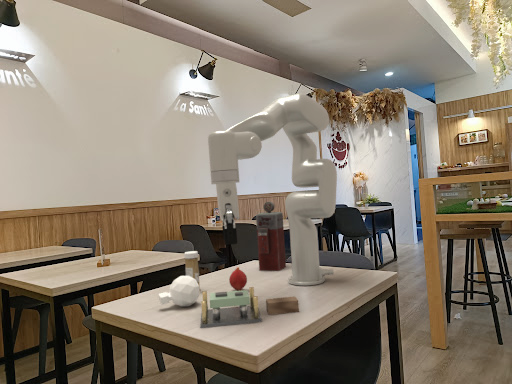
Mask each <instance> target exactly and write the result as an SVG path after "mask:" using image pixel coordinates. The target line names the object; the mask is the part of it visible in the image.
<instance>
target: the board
mask: <svg viewBox="0 0 512 384" xmlns="http://www.w3.org/2000/svg"><path fill="white" fill-rule="evenodd" d="M240 305H247V306H250V293H249V292H248V289H242V290H241V291H237V290H231V291H219V292H210V293H209V309H213V308H218V307H220V308H230V307H239V306H240Z"/></svg>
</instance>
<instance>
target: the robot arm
mask: <svg viewBox="0 0 512 384" xmlns="http://www.w3.org/2000/svg"><path fill="white" fill-rule="evenodd" d="M329 123H330V116H329V113H328V111H327V109H326V108H325V107H324V106H323V105H321V104H320V103H319V102H318V101H316V100H315V99H314V98H312V97H311V96H309V95H307V94H305V93H295V94H292V95H286V96H281V97H279V98H276V99H274V100H273V101H271V102H270V103H268V104H267V105H266V106H265V107H264V108H262V109H261V110H260V111H259V112H257V113H255V114H254V115H252V116H250V117H248V118H246V119H244V120H242V121H241V122H238V123H237V124H235V125H233V126H231V127H229V128H228V129H227V130H218V131H213V132H210V133H209V134H208V135H207V145H208V156H209V170H210V172H209V173H210V182H211V185H215V186H216V188H215V189H216V190H215V191H216V199H217V208H218V213H219V217H220V220H221V221H222V226H221V229H222V239H223V240H224V245H225V246H228V245H237V244H238V234H237V232H238V231H237V228H236V221H238V220H240V218H241V217H240V210H239V209H240V208H239V198H238V196H239V195H238V190H237V189H238V188H237V183H240V172H239V171H240V170H239V160H241V161H242V160H249V159H252V158H255V157H257V156H258V155H259V154H260V153H261V151H262V147H263V146H262V144H263V143H262V142H264V141H266V140H268V139H270V138H273V137H275V135H276V134H277V133H278V132H280V131H281V129H283V132H284V133H285V135H286V137H288V139H289V142H290V143H291V146H292V161H291V162H292V164H291V165H292V166H291V182H292V184H293V186H295V187H296V188H303V189H304V188H306V190H297V191H292V192H291V193H289V194H288V195H287V197H285V202H284V208H285V211H286V215H287V220H288V226H289V239H290V240H289V243H290V244H289V245H290V256H291V257H290V259H291V274H292V276H290V277H288V283H289V284H291V285H295V286H302V287H303V286H305V287H306V286H315V285H319V284H323V283H324V282H325V281H326V280H325V279H326V278H325V276H331V275H335V274H334V269H333V268H322V267H320V255H319V253H320V252H319V240H318V239H319V238H318V230H317V226H316V225H315V223H314V222H313V220H312V219H327V218H328V219H329V218H330V217H332V216H333V215H334V213H335V211H336V205H337V204H336V203H337V184H338V182H337V181H338V173H337V168H336V167H337V166H336V165H335V163H334V162H333V161H332V159H329V158H318V157H317V156H318V153H317V152H318V147H317V145H316V143H315V142H314V141H313V139H312V138H311V137H310V136H309V135H308V134H311V133H312V134H313V133H318V132H322V131H324V130H326V128H328V126H329ZM307 188H318V189H315V190H307ZM235 219H236V221H235Z"/></svg>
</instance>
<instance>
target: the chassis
mask: <svg viewBox="0 0 512 384" xmlns="http://www.w3.org/2000/svg"><path fill="white" fill-rule="evenodd" d="M248 293H249V298H250V305H240V306H229V307H218V308H209V306H208V292H207V290H206V291H205V290H204V291H202V295H201V296H202V301H200V303H201V304H200V305H201V314H200V323H199V324H200V325H199V326H200V329H202V328H203V329H204V328H215V327H222V326H223V327H225V326H235V325H246V324H255V323H262V322H263V319H262V316H261V314H260V311H259V310H260V308H259V296H257V295H256V296H255V288H254V287H253V286H251V287H249V292H248Z"/></svg>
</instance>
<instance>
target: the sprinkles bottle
mask: <svg viewBox="0 0 512 384" xmlns="http://www.w3.org/2000/svg"><path fill="white" fill-rule="evenodd" d="M183 257H184V262H185V276H190V277H192V278H194V279H196V281H197V283H198V285H199V290H200V291H201V288H200V285H201V284H200V273H199V272H200V271H199V259H198V258H199V252H198V251H197V250H192V251H191V250H190V251H185V252H184V255H183Z"/></svg>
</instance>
